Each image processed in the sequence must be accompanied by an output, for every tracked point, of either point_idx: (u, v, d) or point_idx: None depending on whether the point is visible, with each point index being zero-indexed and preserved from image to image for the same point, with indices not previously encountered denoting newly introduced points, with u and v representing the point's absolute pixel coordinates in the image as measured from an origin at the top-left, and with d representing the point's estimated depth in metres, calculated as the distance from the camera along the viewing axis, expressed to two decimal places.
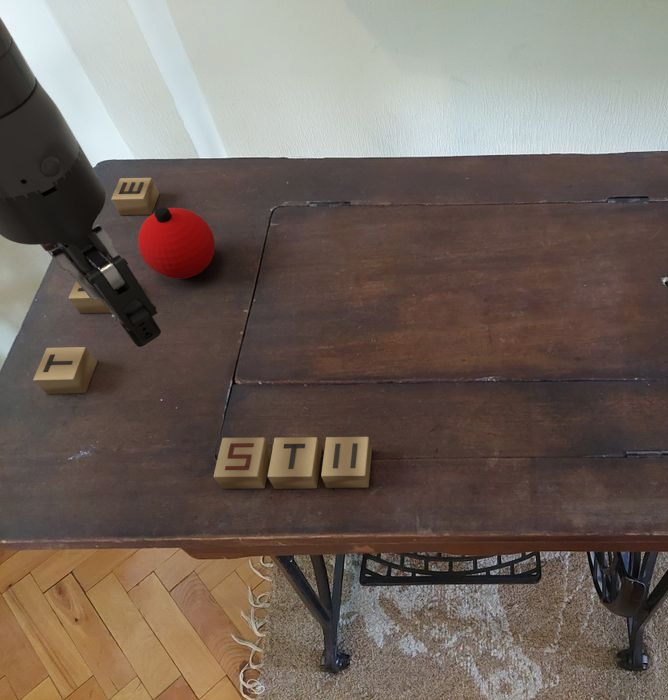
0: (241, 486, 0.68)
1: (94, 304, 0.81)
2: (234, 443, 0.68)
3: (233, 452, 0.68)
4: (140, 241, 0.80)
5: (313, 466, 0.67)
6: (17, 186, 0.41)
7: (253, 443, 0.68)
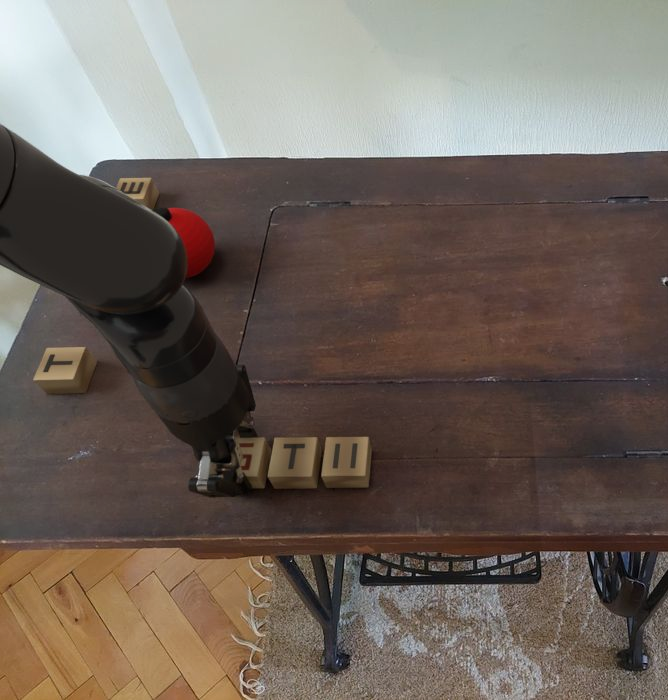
0: None
1: None
2: None
3: None
4: None
5: (313, 466, 0.67)
6: (163, 415, 0.53)
7: (253, 443, 0.68)
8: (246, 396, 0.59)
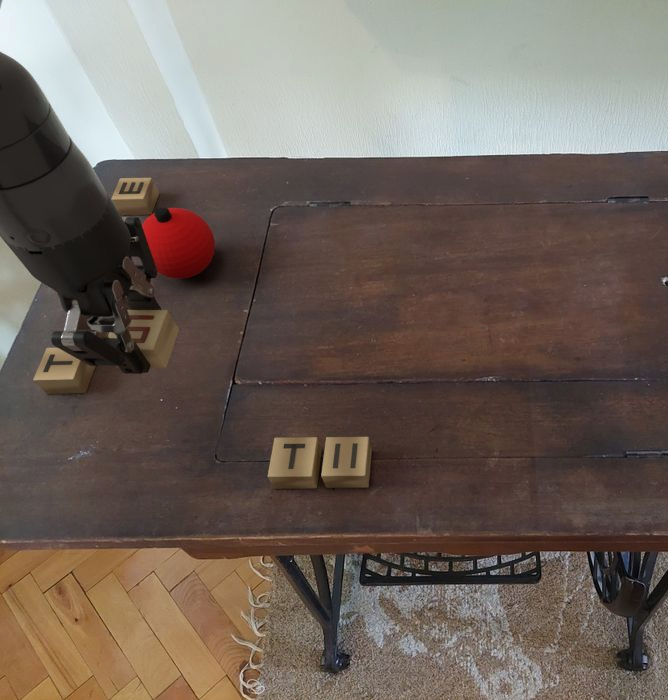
0: None
1: None
2: (131, 315, 0.59)
3: (129, 325, 0.58)
4: None
5: (313, 466, 0.67)
6: (8, 238, 0.44)
7: (153, 315, 0.59)
8: (124, 235, 0.49)
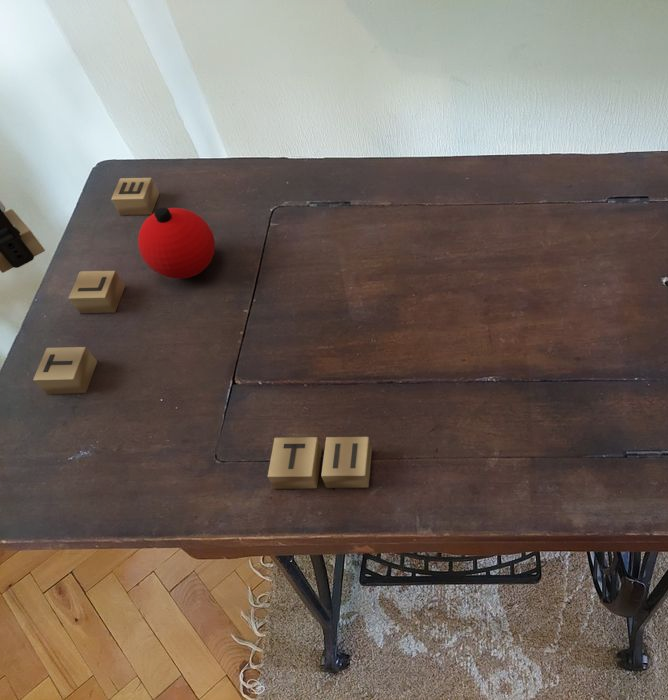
0: None
1: (94, 304, 0.81)
2: None
3: None
4: (140, 241, 0.80)
5: (313, 466, 0.67)
6: None
7: None
8: None
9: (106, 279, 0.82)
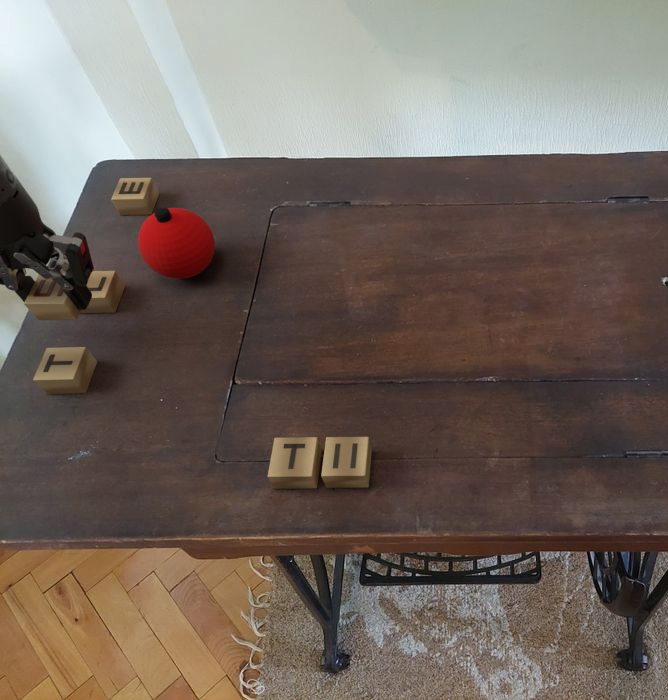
0: None
1: (94, 304, 0.81)
2: (34, 293, 0.72)
3: (44, 292, 0.72)
4: (140, 241, 0.80)
5: (313, 466, 0.67)
6: (0, 194, 0.60)
7: (41, 280, 0.73)
8: None
9: (106, 279, 0.82)
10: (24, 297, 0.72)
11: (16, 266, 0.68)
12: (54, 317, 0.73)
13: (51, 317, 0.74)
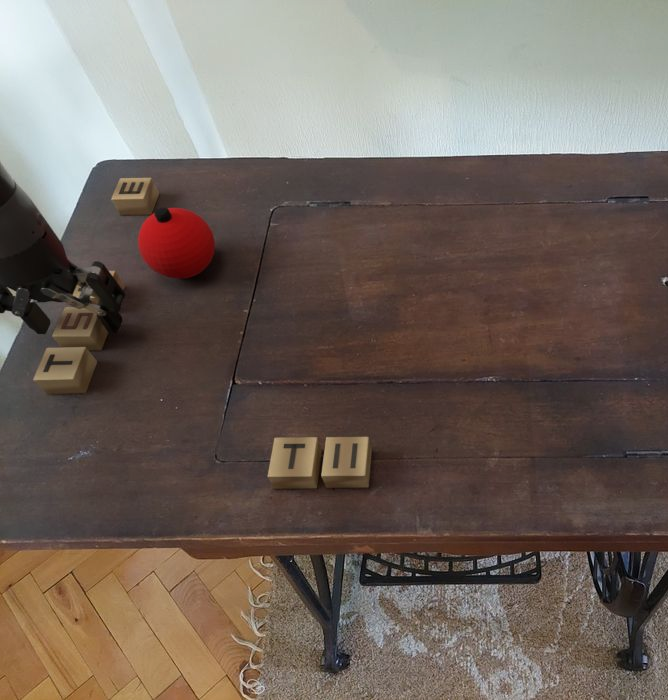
0: (105, 333, 0.80)
1: None
2: (62, 326, 0.77)
3: (71, 325, 0.77)
4: (140, 241, 0.80)
5: (313, 466, 0.67)
6: (31, 236, 0.64)
7: (67, 313, 0.78)
8: None
9: None
10: (29, 322, 0.76)
11: (42, 299, 0.73)
12: None
13: None
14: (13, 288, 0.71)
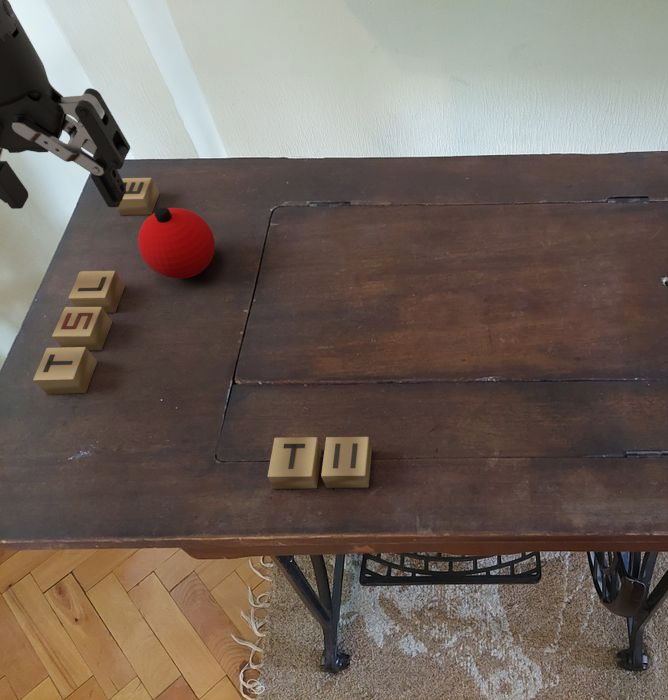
0: (105, 333, 0.80)
1: (94, 304, 0.81)
2: (62, 326, 0.77)
3: (71, 325, 0.77)
4: (140, 241, 0.80)
5: (313, 466, 0.67)
6: None
7: (67, 313, 0.78)
8: None
9: (106, 279, 0.82)
10: None
11: (15, 147, 0.53)
12: None
13: None
14: None
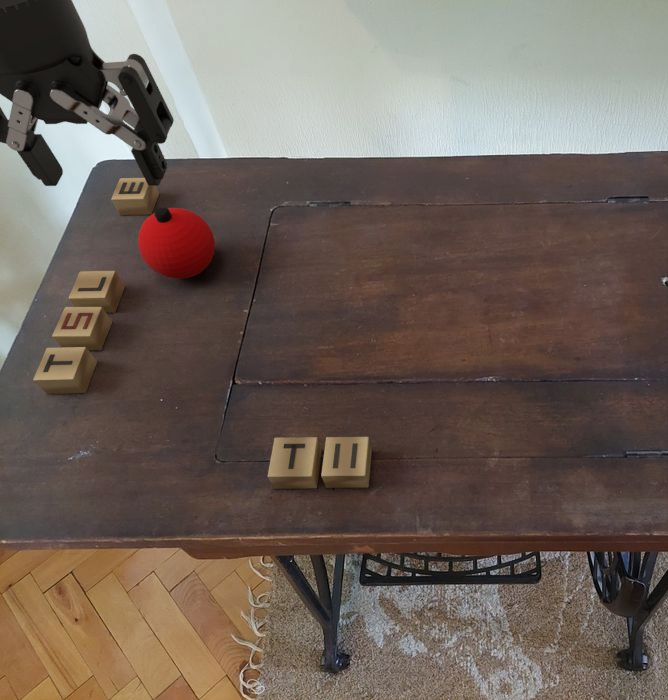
0: (105, 333, 0.80)
1: (94, 304, 0.81)
2: (62, 326, 0.77)
3: (71, 325, 0.77)
4: (140, 241, 0.80)
5: (313, 466, 0.67)
6: None
7: (67, 313, 0.78)
8: None
9: (106, 279, 0.82)
10: (32, 163, 0.52)
11: (52, 118, 0.49)
12: None
13: None
14: (8, 95, 0.47)
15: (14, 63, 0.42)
